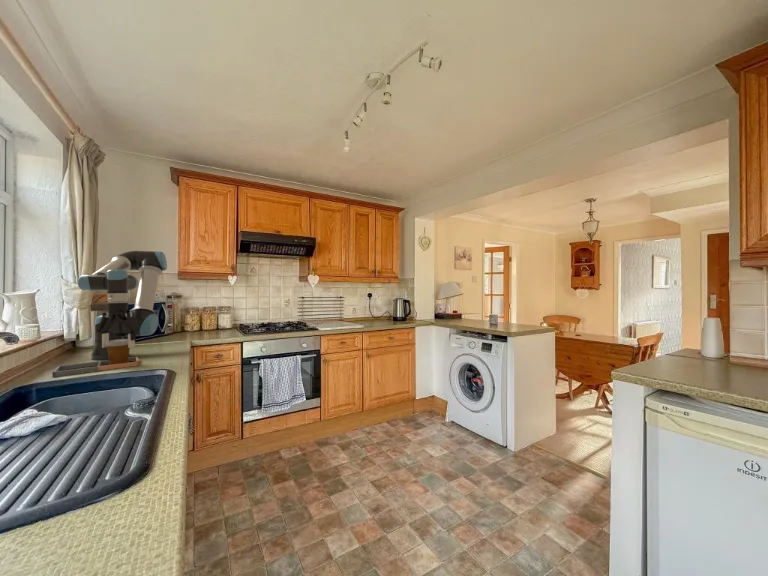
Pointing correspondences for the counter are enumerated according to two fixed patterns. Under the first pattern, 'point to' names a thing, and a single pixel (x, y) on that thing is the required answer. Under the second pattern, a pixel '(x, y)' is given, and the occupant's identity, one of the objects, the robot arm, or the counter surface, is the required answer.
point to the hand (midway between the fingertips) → (118, 347)
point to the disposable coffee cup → (118, 351)
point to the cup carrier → (97, 363)
